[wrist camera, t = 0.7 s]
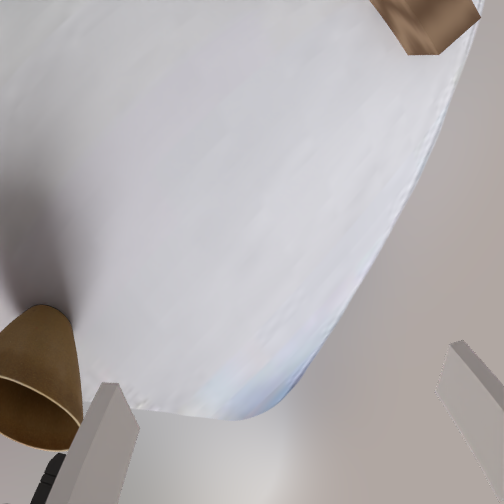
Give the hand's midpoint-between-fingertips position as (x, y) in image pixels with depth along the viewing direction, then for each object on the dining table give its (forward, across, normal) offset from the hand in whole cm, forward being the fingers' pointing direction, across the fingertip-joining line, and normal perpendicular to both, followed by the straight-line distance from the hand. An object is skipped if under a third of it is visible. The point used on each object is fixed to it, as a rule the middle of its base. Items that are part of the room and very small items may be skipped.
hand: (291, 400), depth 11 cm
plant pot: (+23, -30, -10) cm, 39 cm away
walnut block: (+26, +22, +28) cm, 44 cm away
